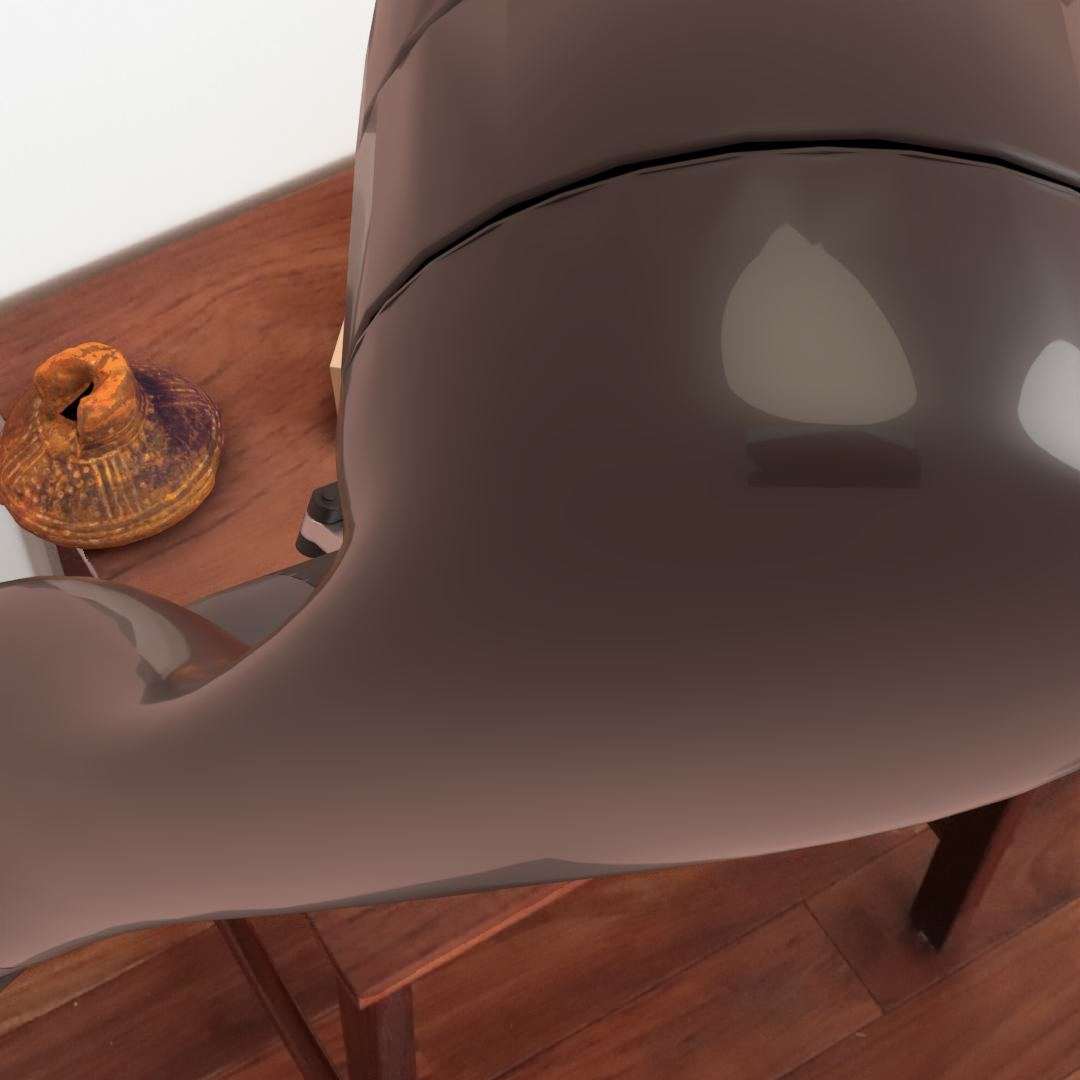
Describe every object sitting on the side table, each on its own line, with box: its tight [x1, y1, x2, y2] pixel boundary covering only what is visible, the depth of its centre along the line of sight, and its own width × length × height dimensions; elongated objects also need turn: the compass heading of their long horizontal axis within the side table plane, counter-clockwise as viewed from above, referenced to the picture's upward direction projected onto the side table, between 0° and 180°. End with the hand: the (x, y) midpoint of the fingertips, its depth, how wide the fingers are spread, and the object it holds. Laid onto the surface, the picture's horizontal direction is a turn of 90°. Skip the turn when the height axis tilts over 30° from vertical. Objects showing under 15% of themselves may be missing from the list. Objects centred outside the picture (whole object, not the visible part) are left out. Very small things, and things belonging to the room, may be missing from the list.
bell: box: [0, 341, 227, 550], centre depth 78 cm, size 12×12×7 cm
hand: (602, 558), depth 62 cm, fingers open, 8 cm apart
